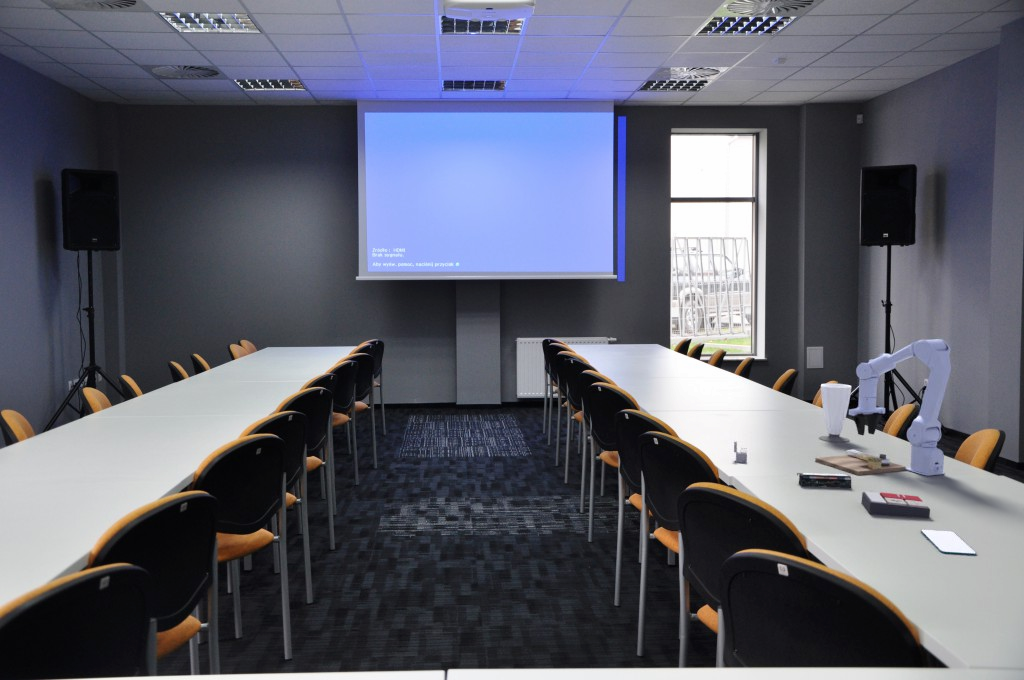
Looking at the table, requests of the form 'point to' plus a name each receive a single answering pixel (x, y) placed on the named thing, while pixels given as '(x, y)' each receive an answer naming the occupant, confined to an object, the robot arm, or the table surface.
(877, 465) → the wooden block
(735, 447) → the architectural model
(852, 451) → the grey link
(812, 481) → the black flat case
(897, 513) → the dark grey box
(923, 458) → the robot arm
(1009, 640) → the table surface
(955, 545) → the smartphone
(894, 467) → the base plate
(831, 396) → the cup
